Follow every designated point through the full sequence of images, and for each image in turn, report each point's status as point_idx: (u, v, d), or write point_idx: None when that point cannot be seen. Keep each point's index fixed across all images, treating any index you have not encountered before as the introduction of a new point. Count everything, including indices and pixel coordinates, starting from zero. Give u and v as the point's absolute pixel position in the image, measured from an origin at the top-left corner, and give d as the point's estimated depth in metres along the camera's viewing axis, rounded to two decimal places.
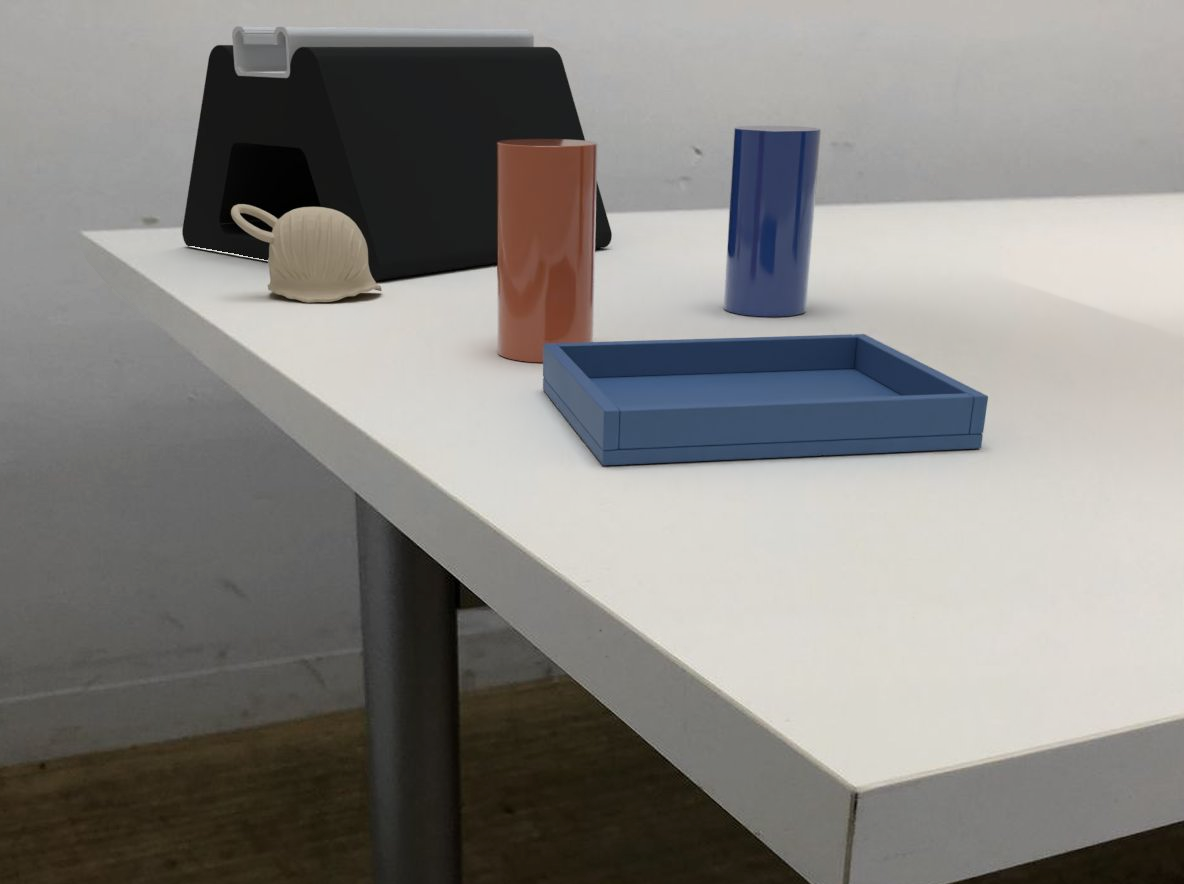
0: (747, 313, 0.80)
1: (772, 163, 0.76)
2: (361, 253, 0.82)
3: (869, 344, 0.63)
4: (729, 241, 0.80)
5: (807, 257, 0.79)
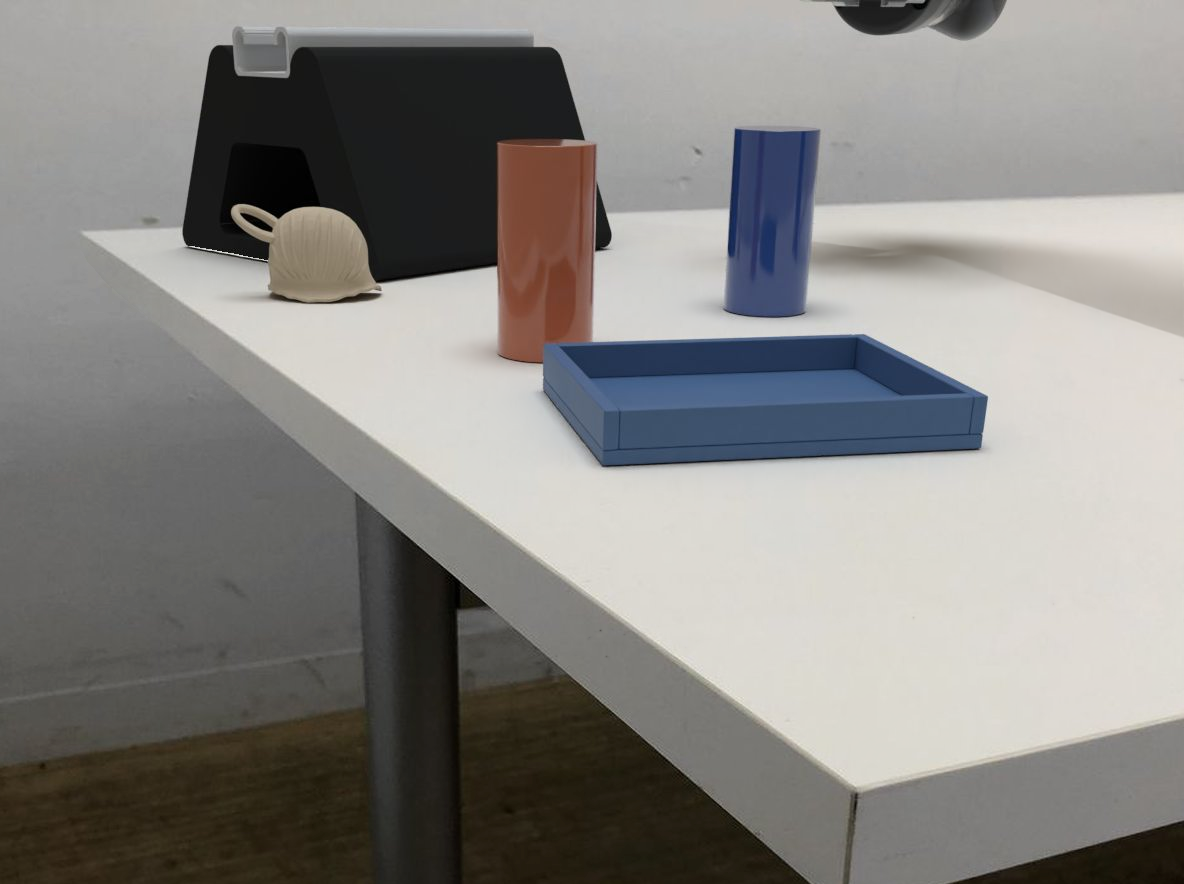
0: (747, 313, 0.80)
1: (772, 163, 0.76)
2: (361, 253, 0.82)
3: (869, 344, 0.63)
4: (729, 241, 0.80)
5: (807, 257, 0.79)
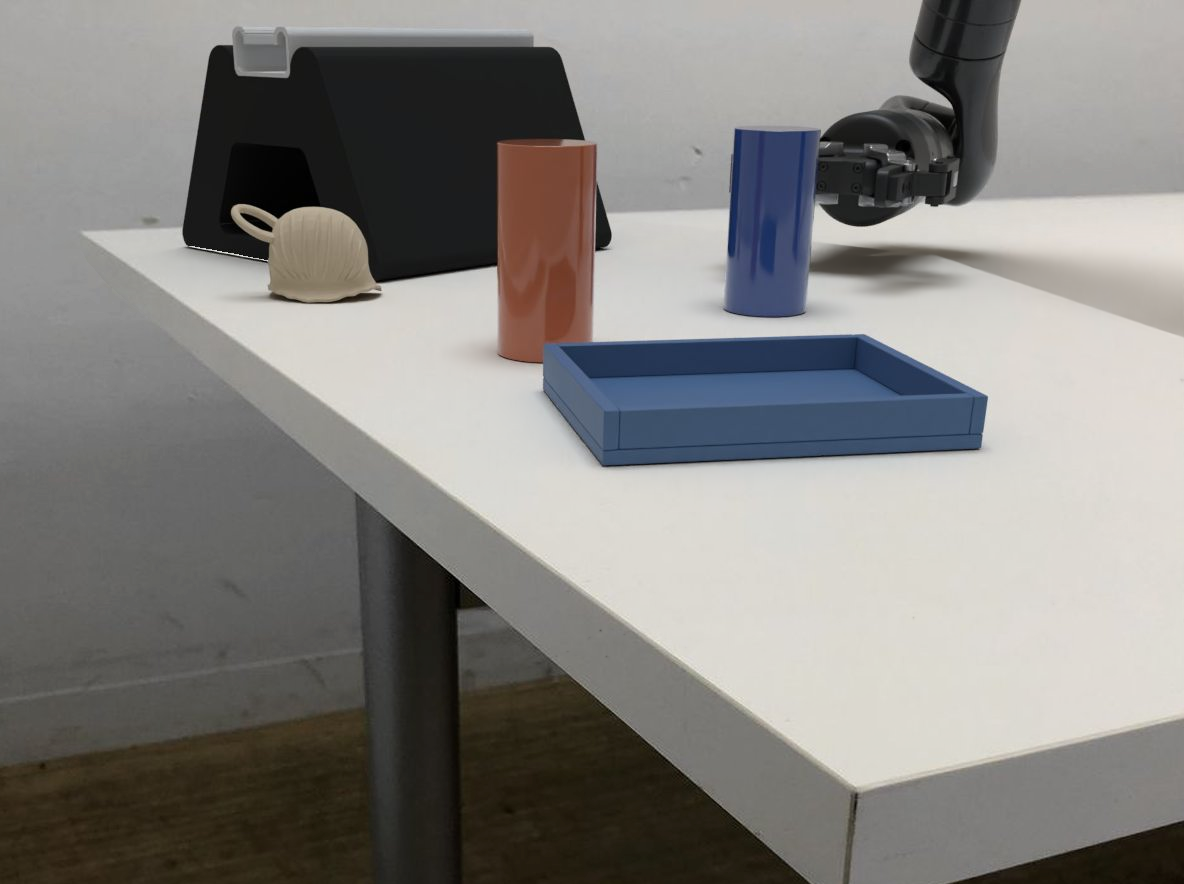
0: (747, 313, 0.80)
1: (772, 163, 0.76)
2: (361, 252, 0.82)
3: (869, 344, 0.63)
4: (729, 241, 0.80)
5: (807, 257, 0.79)
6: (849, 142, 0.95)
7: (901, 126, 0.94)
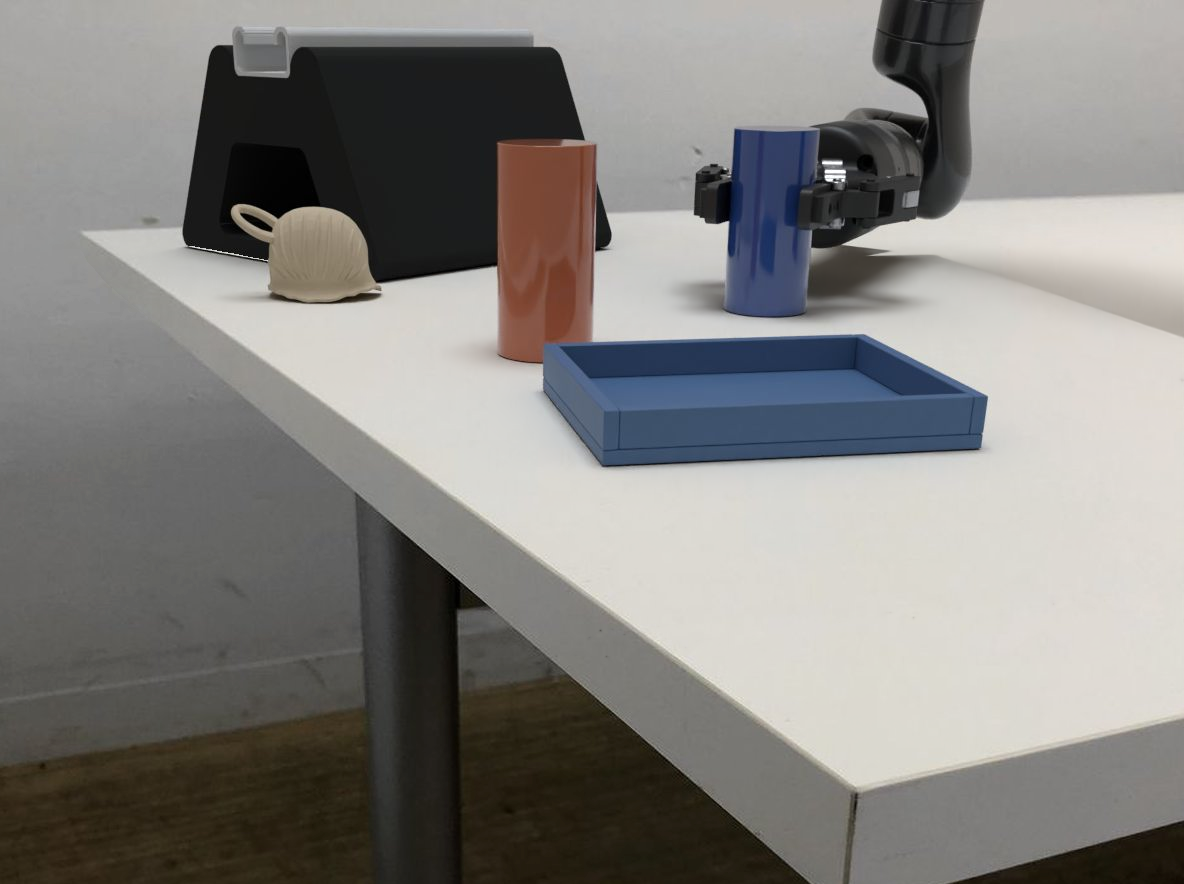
0: (747, 313, 0.80)
1: (771, 163, 0.76)
2: (361, 252, 0.82)
3: (869, 344, 0.63)
4: (729, 241, 0.80)
5: (807, 257, 0.79)
6: None
7: (863, 139, 0.86)
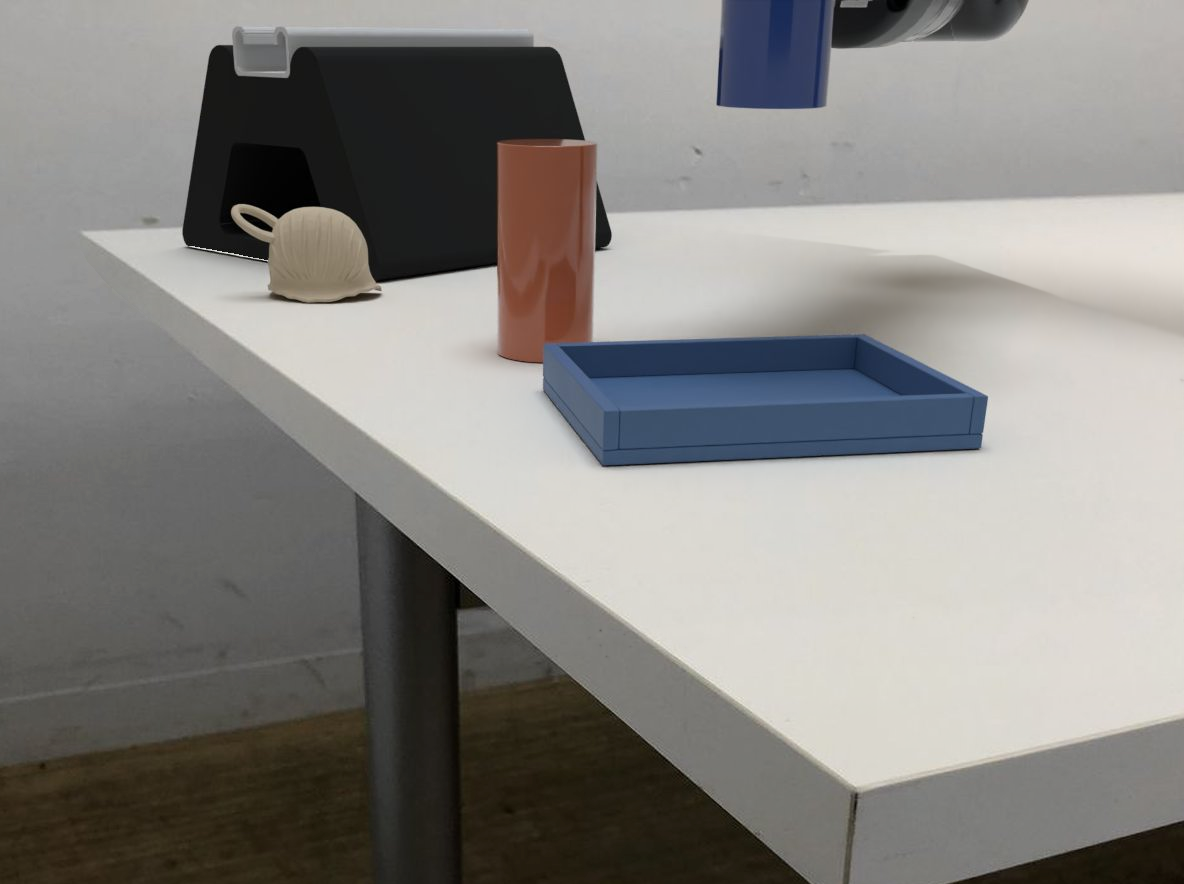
0: (747, 105, 0.59)
1: None
2: (361, 253, 0.82)
3: (869, 344, 0.63)
4: (723, 8, 0.59)
5: (828, 27, 0.59)
6: None
7: None
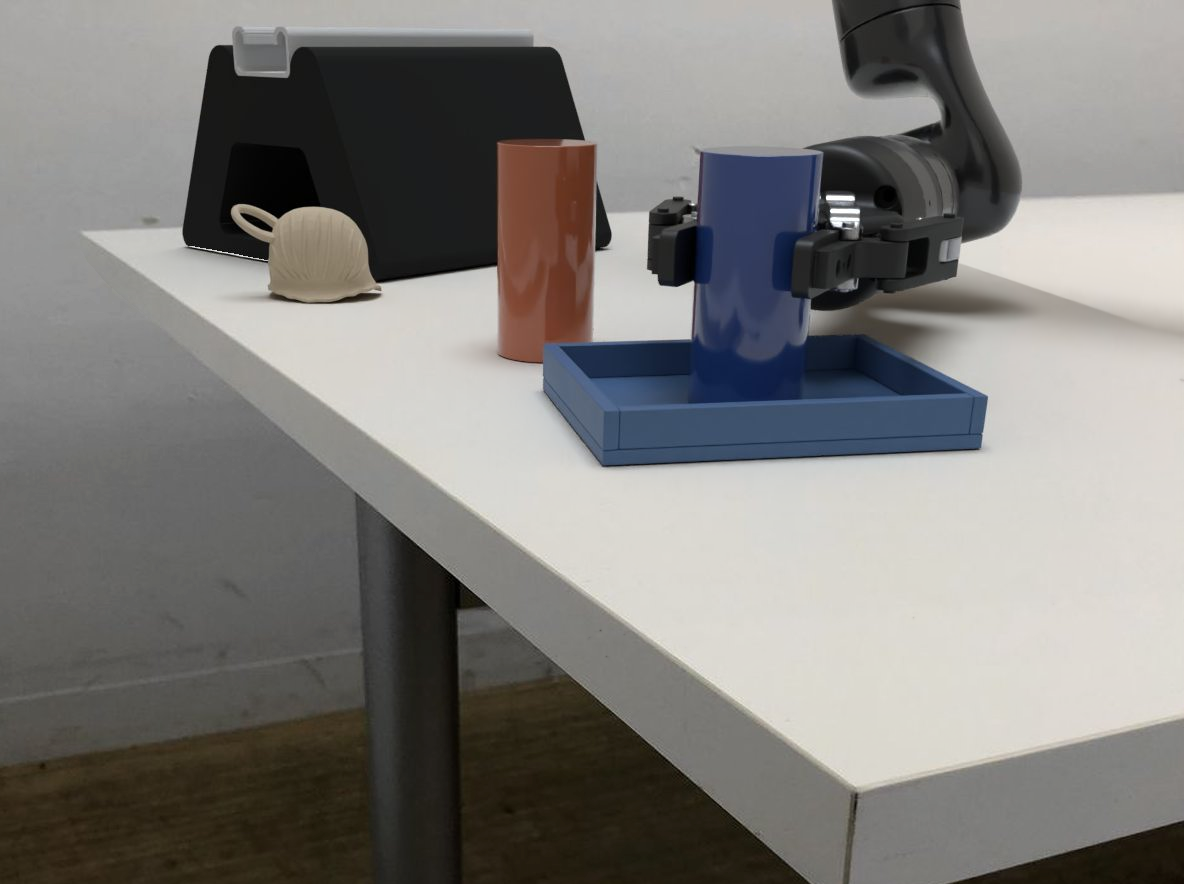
0: None
1: (753, 202, 0.53)
2: (361, 253, 0.82)
3: (869, 344, 0.63)
4: (694, 309, 0.56)
5: (804, 333, 0.56)
6: None
7: (882, 164, 0.62)
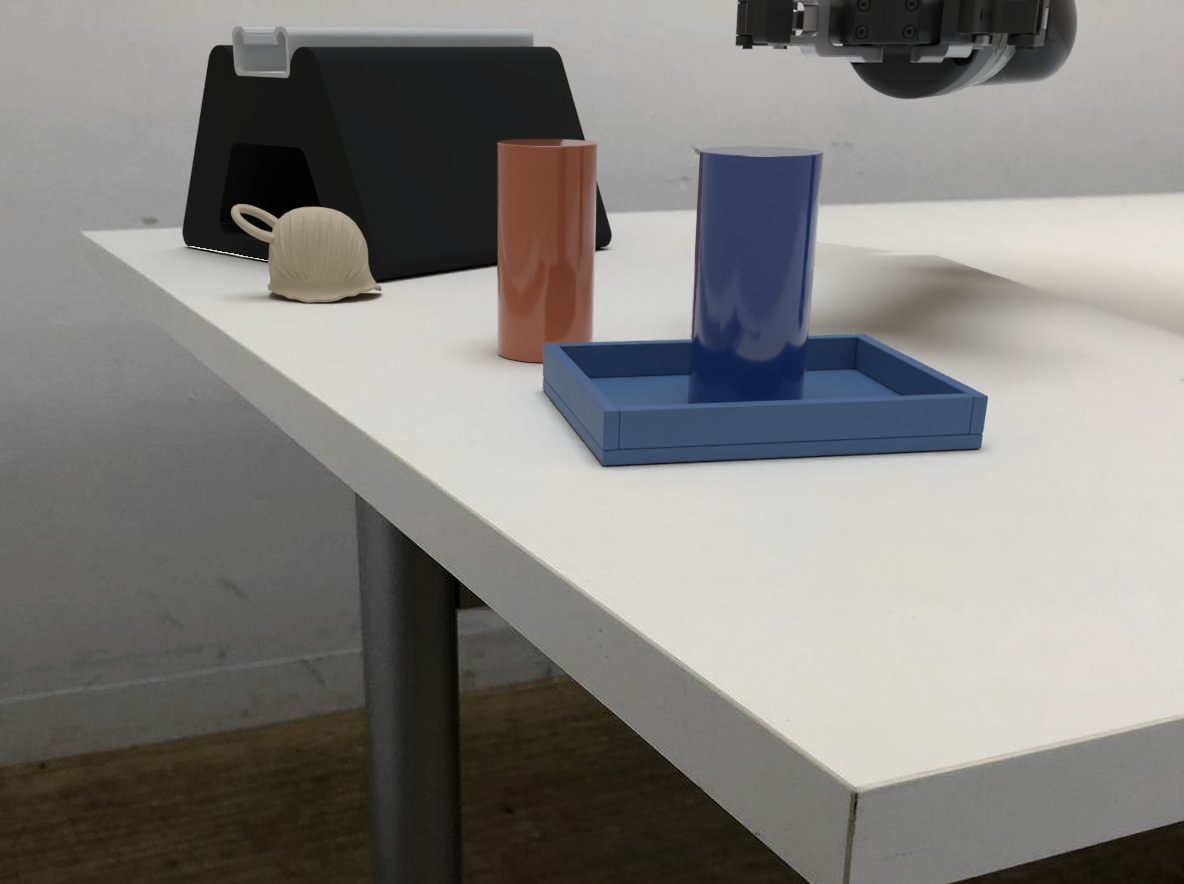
0: None
1: (753, 202, 0.53)
2: (361, 252, 0.82)
3: (869, 344, 0.63)
4: (694, 310, 0.56)
5: (804, 333, 0.56)
6: None
7: None
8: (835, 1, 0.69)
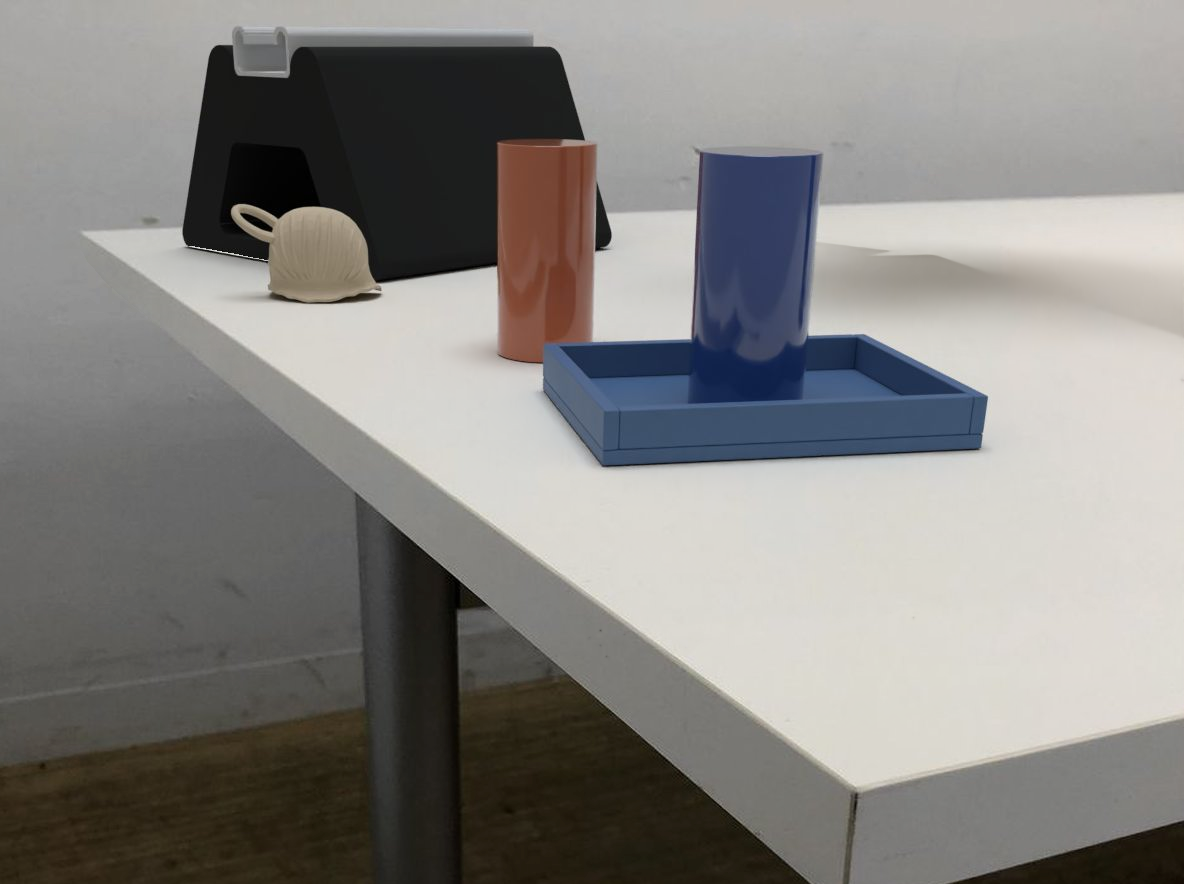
0: None
1: (753, 202, 0.53)
2: (361, 253, 0.82)
3: (869, 344, 0.63)
4: (694, 310, 0.56)
5: (804, 333, 0.56)
6: None
7: None
8: None
